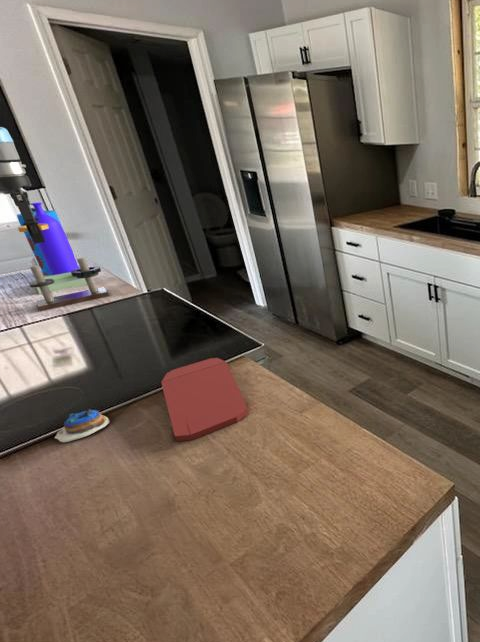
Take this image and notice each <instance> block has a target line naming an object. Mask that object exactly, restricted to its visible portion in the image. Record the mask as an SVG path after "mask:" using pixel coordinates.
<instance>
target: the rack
mask: <svg viewBox="0 0 480 642" xmlns="http://www.w3.org/2000/svg"><path fill="white" fill-rule="evenodd" d="M76 262H77V264H78V267H79V268H81V270H82V271H87V270H90V269H89V267H90V266H89V265H88V261H87V260H86V258H85V257H78V258H76ZM29 268H30V271H31V273H32V275H33V277H34V281H31V282H29V284H28V285H29V288H36V287H39V288H40V290H41V292H42V294H41V295H42V296H43V299H39V300H36V304H37V308H38V311H39V312H44V311H48V310H53V309H56V308H57V309H58V308H62V307H63V308H64V307H67V306H71V305H75V304H80V303H85V302H89V301H93V300H98V299H103V298H108V297H110V295H109V292H108V290H107V289H106V288H105V286H100V287H98V286H97V284H96V282H95V280H94V277H96V276H98V275H99V274H100V272H98V273H96V274H92V275H87V276H80V277H77V278H80V279H81V278H85V280H86V282H87V285H86V286H87V287H88V289H87V290H86V289H85V290H81V291H76V292H72V293H68V294H67V293H66V294H62V295H57V296H53V294H52V292H51V291H50V289H49V287H48V285H50V284H53V283H54V280H53V279H45V278H44V277H45V275H44V274H43V272H42V270H41V268H40V266H39V264H33V265H31V266H29ZM35 279H36V281H35Z"/></svg>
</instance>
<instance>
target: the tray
mask: <svg viewBox="0 0 480 642" xmlns="http://www.w3.org/2000/svg"><path fill="white" fill-rule="evenodd" d="M44 278H45V279H53V280H54V283H53V284H50V285H48V287H49V289H50V291H51V293H52V292H57V291H63V290H67V289H73V288H77V287H82V286H88V285H87V282H86V280H85V278H81V279H80V278H77V277H73V276H72V274H71V272H69V273H63V274H58V275H46V276H44ZM34 281H36V279H35V278H34ZM35 288H36V290H37V292H38V294H39V295H43V294H42V292H41V290H40V288H39V287H35Z"/></svg>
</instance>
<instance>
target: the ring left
mask: <svg viewBox="0 0 480 642" xmlns="http://www.w3.org/2000/svg"><path fill="white" fill-rule="evenodd" d="M38 226H39V229H40V230H45V229H49V226H48V224H38ZM17 230H18V231H19V233H24V232H29V231H28V229H27V227H26V226H21V225H20V226H17Z"/></svg>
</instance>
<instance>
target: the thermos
mask: <svg viewBox="0 0 480 642" xmlns="http://www.w3.org/2000/svg"><path fill="white" fill-rule="evenodd" d="M43 211H44V212H45V213H46V214H47V215H49V216H51V217H53V218H55V219H56V220H58V221H59V223H60V225H61V227H62V229H63V231H64V227H63V226H62V223H61V221H60V218H59V216H58V214H57V212H56V211H55V210H43ZM32 212H33V214H34V216H36V211H32ZM16 217H17V220H18V223H19V225H20V226H23V224H24V222H25V221H24V219H23V217H22V215H21V213H18V214H16ZM64 232H65V231H64ZM23 234H24V235H25V238H26V240H27V243H28V245H29V247H30V249H31V251H32V254H33V255H34V258H35V260H36V262H37V265H39V267H40V269H41V272H42V274H43V276H52V274H51V272H50V270H49V268H48V266H47V264H46V262H45V259H44V257H43V255H42V253H41V250H40V248H39V246H38V244H37V243H36V244H34V242H33V240H32V238H31V236H30V233H29V232H23ZM66 238H67V239H68V237H67V236H66ZM69 245H70V243H69ZM70 246H71V245H70ZM74 257H75V255H74ZM75 258H76V257H75Z"/></svg>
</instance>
